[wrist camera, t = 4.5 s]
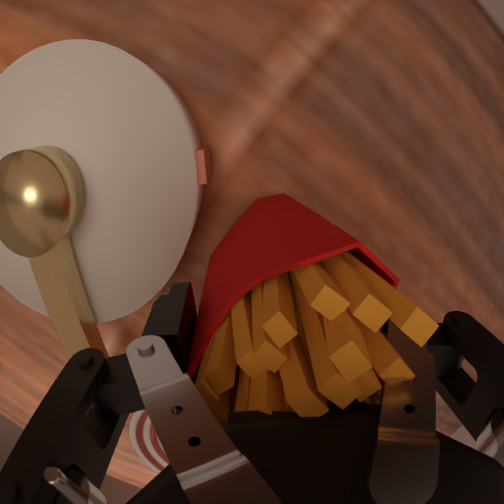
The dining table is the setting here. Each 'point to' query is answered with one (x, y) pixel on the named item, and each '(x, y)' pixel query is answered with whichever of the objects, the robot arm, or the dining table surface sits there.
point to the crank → (49, 236)
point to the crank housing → (108, 168)
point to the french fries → (296, 317)
